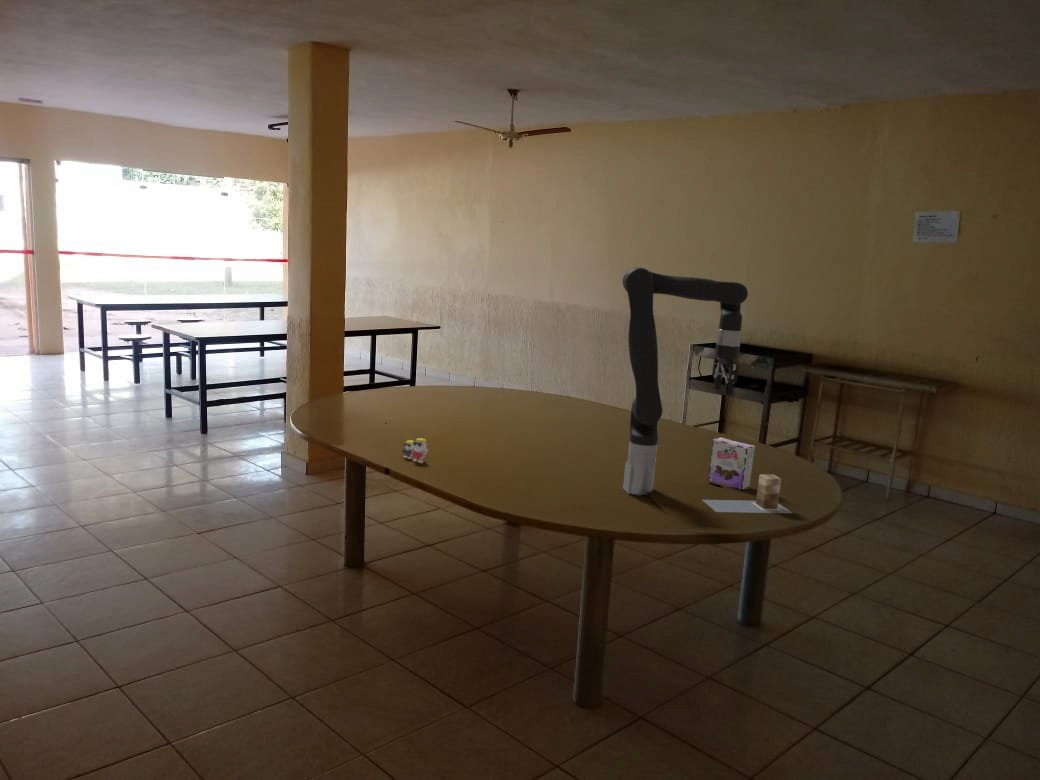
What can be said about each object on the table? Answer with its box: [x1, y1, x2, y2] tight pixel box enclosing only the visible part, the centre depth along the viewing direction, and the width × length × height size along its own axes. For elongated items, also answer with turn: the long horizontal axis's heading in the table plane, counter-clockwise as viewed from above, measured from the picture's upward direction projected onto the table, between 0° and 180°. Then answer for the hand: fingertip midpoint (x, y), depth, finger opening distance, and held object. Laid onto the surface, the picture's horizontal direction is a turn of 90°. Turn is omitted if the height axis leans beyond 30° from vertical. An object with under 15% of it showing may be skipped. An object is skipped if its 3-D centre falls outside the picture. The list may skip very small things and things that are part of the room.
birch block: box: [757, 473, 782, 495], centre depth 256 cm, size 5×5×5 cm
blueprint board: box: [701, 499, 793, 514], centre depth 256 cm, size 26×12×1 cm, turn 100°
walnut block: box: [755, 488, 780, 509], centre depth 257 cm, size 5×5×5 cm
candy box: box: [707, 437, 756, 490], centre depth 280 cm, size 14×6×16 cm, turn 45°
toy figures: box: [401, 437, 429, 464], centre depth 286 cm, size 12×4×8 cm, turn 46°
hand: (722, 392), depth 261 cm, fingers open, 8 cm apart
